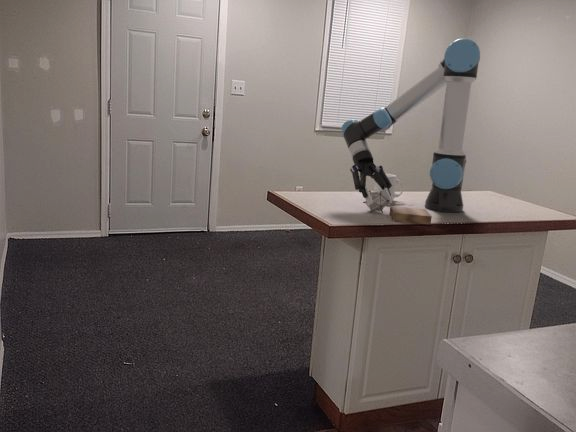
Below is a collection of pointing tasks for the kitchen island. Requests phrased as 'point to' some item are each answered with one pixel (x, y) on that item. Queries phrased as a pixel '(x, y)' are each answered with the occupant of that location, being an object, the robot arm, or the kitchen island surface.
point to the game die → (377, 201)
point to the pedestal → (410, 215)
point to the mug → (393, 181)
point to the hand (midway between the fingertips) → (380, 204)
